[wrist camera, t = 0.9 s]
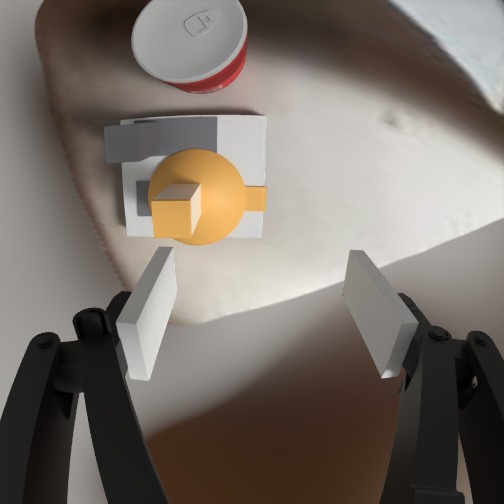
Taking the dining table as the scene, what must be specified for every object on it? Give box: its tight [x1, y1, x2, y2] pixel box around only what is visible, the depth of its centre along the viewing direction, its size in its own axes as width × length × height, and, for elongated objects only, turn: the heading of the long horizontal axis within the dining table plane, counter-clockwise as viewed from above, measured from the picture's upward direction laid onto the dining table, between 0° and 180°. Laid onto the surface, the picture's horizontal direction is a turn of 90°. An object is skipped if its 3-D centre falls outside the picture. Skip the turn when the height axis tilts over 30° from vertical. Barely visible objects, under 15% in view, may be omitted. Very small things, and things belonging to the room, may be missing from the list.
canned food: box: [131, 0, 247, 94], centre depth 22 cm, size 8×8×11 cm
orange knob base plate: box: [104, 115, 267, 245], centre depth 28 cm, size 13×14×8 cm
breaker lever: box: [151, 184, 201, 238], centre depth 27 cm, size 3×3×7 cm
